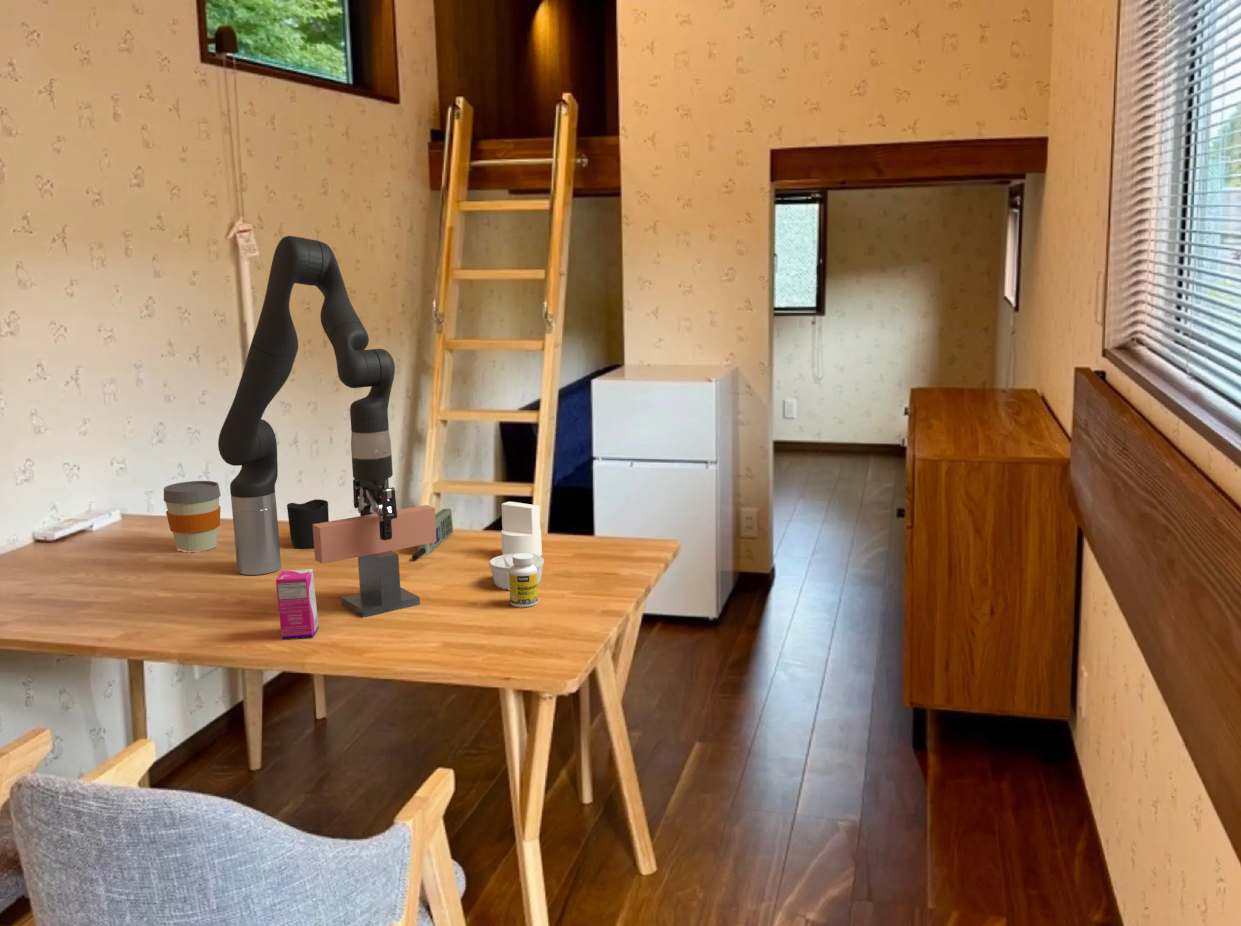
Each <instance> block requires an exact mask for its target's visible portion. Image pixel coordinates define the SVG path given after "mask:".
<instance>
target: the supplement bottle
mask: <svg viewBox="0 0 1241 926" xmlns="http://www.w3.org/2000/svg"><path fill="white" fill-rule="evenodd" d="M532 563H533V555H532V554H528V553H520V554H515V555H513V564H514V565H513V566H512V567H511V568H510V570H509V576H510V590H509V602H510V604H511V606H513V607H516V608H529V607H534V606H535V605H537V604H538V585H537V568H536V567H535V566H534V565H532Z"/></svg>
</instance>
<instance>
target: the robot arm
mask: <svg viewBox="0 0 1241 926" xmlns="http://www.w3.org/2000/svg"><path fill="white" fill-rule="evenodd" d="M295 284H298V285H305V286H314V287H317V289H318V290H319V291H320V292H321V294H322V295H323V298H324V299H323V302H322V305H321V311H320V322H321V326H322V328H323V331H324V333H325V335H326V337H327V339H328V340H329V342H330V344H331V345H332V348H333V352H334V356H335V361H336V367H337V368H336V370H337V375H338V379H339V380H340V381H341V383H342V384H343V385H344V386H346V387H348V388H351V389H361V388H369V387H370V390H369V392H368V394H367V395H366V396H364V397H362V398H359V399H356V400H354V401H353V402H352V403H351V404H350V408H349V413H350V415H349V416H350V431H351V437H350V452H351V467H352V468H351V469H352V478H353V479H352V487H353V489H352V491H353V495H352V496H353V507H354V509H357V512H358V513H359V514H360V513H361V514H360V515H359V516H364V515H370V514H372V512H370V511H372V508H373V511H374V512H376V513H377V515H378V518H379V528H380V539H381V540H389V539H391V538H392V525H391V520H393V519H395V518H397V510H398V508H397V499H396V489H395V487H389V488H387V486H386V480H387V479H388V480H389V479H390V478H391V477H392V476H393V456H392V442H391V437H390V436H391V435H390V430H389V429H390V428H389V410H388V409H389V404H390V398H391V392H392V388H393V383H394V379H395V371H396V366H395V360H394V358H393V356H392V354H390V352H389V351H387V350H386V349H383V348H371V349H367V347H368V344H369V342H370V340H369V339H370V338H369V334H368V331H367V330H366V328H365V326H364V325H363V323H362V321H361V319H360V318H359V316H358V314H357V312H356V310H355V309H354V307H353V305H352V303H351V299H350V297H349V295H348V291H347V288H346V285H345V281H344V278H343V276H342V272H341V270H340V266H339V263H338V261H337V258H336V256H335V254H334V252H333V250H332V248H331V247H330V246H329V245H328V244H327V243H325V242H323V241H320V240H316V239H311V238H306V237H299V236H294V235H286V236H283V237H282V238H281V240H279V241H278V243H277V245H276V247H275V250H274V253H273V257H272V262H271V266H270V270H269V276H268V281H267V285H266V290H265V295H264V300H263V304H262V308H261V310H260V315H259V317H258V322H257V325H256V328H255V331H254V334H253V337H252V340H251V343H250V346H249V350H248V353H247V355H246V360H245V364H244V367H243V370H242V375H241V378H240V380H239V383H238V387H237V389H236V392H235V396H234V399H233V400H232V403H231V406H230V409H229V410H228V413H227V415H226V417H225V419H224V422H223V424H222V426H221V429H220V432H219V436H218V441H217V443H218V445H217V446H218V452H219V455H220V457H221V459H222V460H223V461H224V463H226V464H227V465H229V466H234V467H235V466H237V467H239V466H241V467H240V471H238V474H237V475H236V476H235V478H233V480H232V481H231V482H230V485H229V490H230V499H231V501H230V502H231V511H232V521H233V534H234V535H233V536H234V545H235V546H234V547H235V559H236V569H237V573H238V574H241V575H246V576H249V575H250V576H252V575H255V576H257V575H265V574H270V573H274V572H277V571H279V570H280V569H281V568H282V563H281V562H282V559H281V549H280V548H281V547H280V535H279V534H280V532H279V523H278V522H279V521H278V510H277V509H278V508H277V498H276V497H277V496H276V482H277V478H278V474H279V473H278V471H279V470H278V443H277V437H276V434H275V431H274V429H273V426H271V424H270V423H269V422H267V420H265V419H262V417H263V415H264V413H265V411H266V409H267V407H268V406H269V405H270V403H271V402H272V401H273V400H274V398H275V397H276V395H277V394H278V393H279V392H280V391H281V389H282V388H283V386H284V385H285V384H286V382H287V380H288V379H289V377H290V374H291V373H292V370H293V367H294V366H293V365H294V364H295V361H296V357H297V354H298V350H299V339H298V335H297V331H296V328H295V325H294V321H293V319H292V315H291V311H290V300H291V295H292V290H293V288H294V285H295ZM381 511H382V512H381ZM391 511H392V512H391ZM382 514H383V515H382Z"/></svg>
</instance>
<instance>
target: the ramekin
mask: <svg viewBox="0 0 1241 926" xmlns="http://www.w3.org/2000/svg"><path fill="white" fill-rule="evenodd" d="M515 554H520V553H513V554H505V555H498V556H495V557H493V558H491V559H490V560H489V563H488V564H489V568H490V570H491V575H492V579H493V583H494V584H495V586H496V587H497V588H499V589H501V588H502V590H505V589H510V576H509V570H510V568H511V567H512V566H513V565H514V564H513V555H515ZM528 554H530V553H528ZM532 555H533V563H532V565H534V566H535V567H536V568H537V586H538V585H539V584H540V582H541V580H542V575H543V566H544V564H545V559H544V557H543V556H542V557H541V556H539V555H536V554H532Z"/></svg>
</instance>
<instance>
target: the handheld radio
mask: <svg viewBox="0 0 1241 926" xmlns="http://www.w3.org/2000/svg"><path fill="white" fill-rule="evenodd" d="M435 522H436V542H433V543H428V544H423V545H418V546H417V547H418V551H416V552H415V553H414V554H413V555H412V556H411V559H412V560H413V561H416V560H417V559H419V558H421V557H422V556H428V555H427V554H429V555H430V554H431V553H432V552H434V551H435V550H436V549H437V548H438V547H439V546H441V545H442V544H443V543H444V542H445V541H447V540H448V539H449V538H450V537H452V535H453V534H454V526H453V514H452V509H451V508H443V509H441V510H439V511H438V512H437V513H435ZM452 533H453V534H452ZM451 534H452V535H451ZM449 536H450V537H449ZM448 537H449V538H448ZM447 538H448V539H447ZM442 542H443V543H442ZM441 543H442V544H441ZM440 544H441V545H440ZM435 548H436V549H435ZM434 549H435V550H434ZM424 554H426V555H424Z"/></svg>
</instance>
